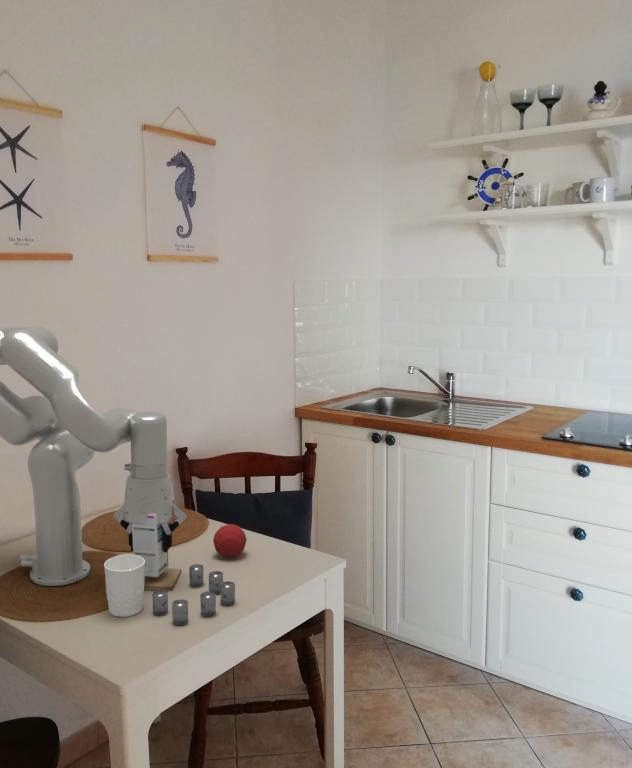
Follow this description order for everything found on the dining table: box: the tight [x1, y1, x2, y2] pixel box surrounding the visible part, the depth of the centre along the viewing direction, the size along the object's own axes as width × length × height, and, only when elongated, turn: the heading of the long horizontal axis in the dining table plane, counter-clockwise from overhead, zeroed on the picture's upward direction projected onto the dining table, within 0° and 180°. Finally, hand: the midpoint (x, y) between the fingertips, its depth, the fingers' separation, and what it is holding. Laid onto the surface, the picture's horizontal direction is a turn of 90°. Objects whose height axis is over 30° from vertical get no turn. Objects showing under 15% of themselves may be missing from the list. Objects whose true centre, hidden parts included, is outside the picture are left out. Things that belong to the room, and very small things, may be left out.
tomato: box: [212, 524, 247, 558], centre depth 170 cm, size 8×8×8 cm
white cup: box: [103, 554, 145, 618], centre depth 142 cm, size 8×8×10 cm
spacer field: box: [151, 563, 236, 627], centre depth 146 cm, size 16×20×4 cm
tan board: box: [144, 567, 182, 592], centre depth 156 cm, size 11×9×1 cm
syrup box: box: [132, 513, 169, 577], centre depth 154 cm, size 6×6×14 cm
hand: (150, 548), depth 154 cm, fingers closed on syrup box, 6 cm apart
